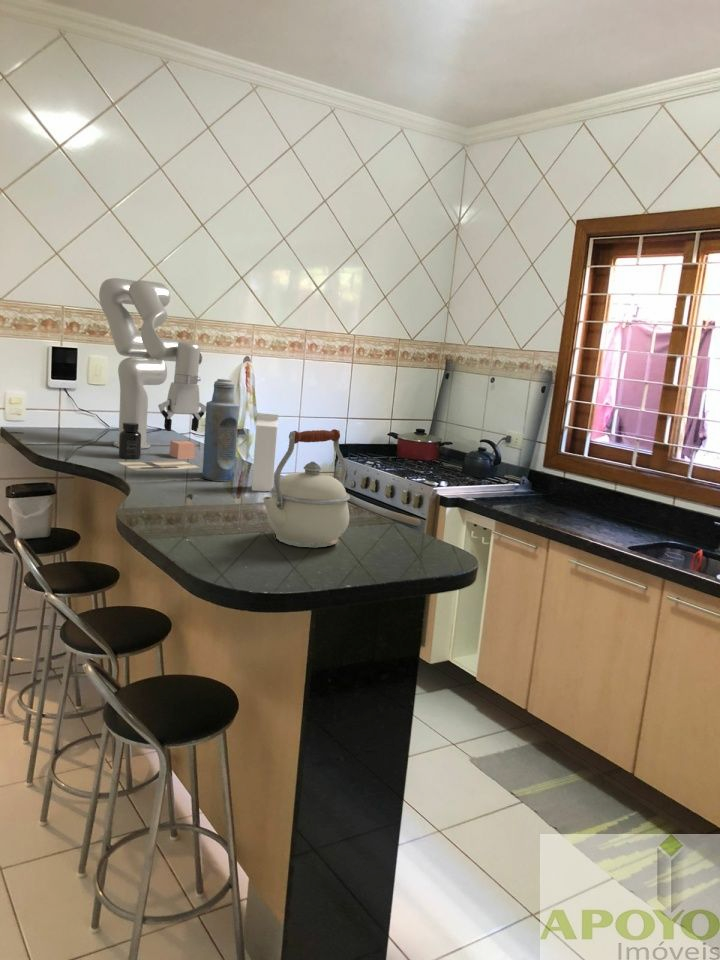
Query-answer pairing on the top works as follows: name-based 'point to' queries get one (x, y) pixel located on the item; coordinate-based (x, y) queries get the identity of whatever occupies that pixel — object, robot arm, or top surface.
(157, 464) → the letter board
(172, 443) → the terracotta block
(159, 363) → the robot arm
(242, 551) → the top surface
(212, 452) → the bottle
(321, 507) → the kettle
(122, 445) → the supplement bottle
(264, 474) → the milk
